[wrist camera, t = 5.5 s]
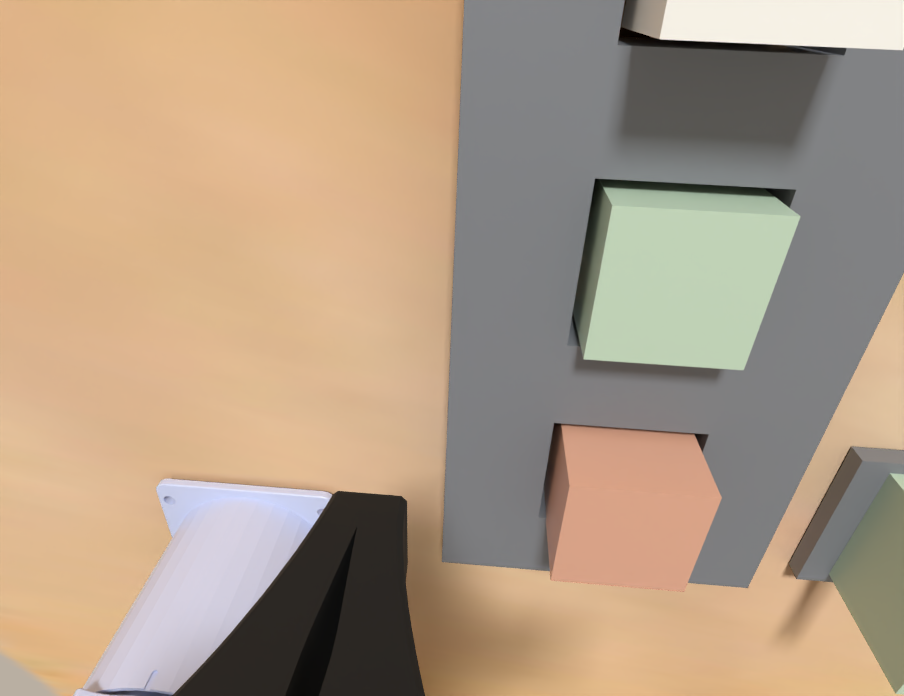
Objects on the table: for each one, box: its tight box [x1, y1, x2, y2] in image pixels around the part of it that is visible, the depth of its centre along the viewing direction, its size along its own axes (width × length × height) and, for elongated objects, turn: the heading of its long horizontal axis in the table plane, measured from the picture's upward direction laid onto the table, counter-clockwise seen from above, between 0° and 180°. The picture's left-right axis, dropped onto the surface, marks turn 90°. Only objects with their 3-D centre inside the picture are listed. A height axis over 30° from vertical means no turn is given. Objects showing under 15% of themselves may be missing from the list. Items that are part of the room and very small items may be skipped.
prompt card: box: [789, 447, 904, 694], centre depth 22 cm, size 7×3×6 cm, turn 178°
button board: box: [442, 0, 904, 588], centre depth 17 cm, size 26×12×3 cm, turn 178°
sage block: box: [573, 178, 801, 370], centre depth 17 cm, size 4×4×4 cm
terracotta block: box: [544, 423, 722, 592], centre depth 20 cm, size 4×4×4 cm
